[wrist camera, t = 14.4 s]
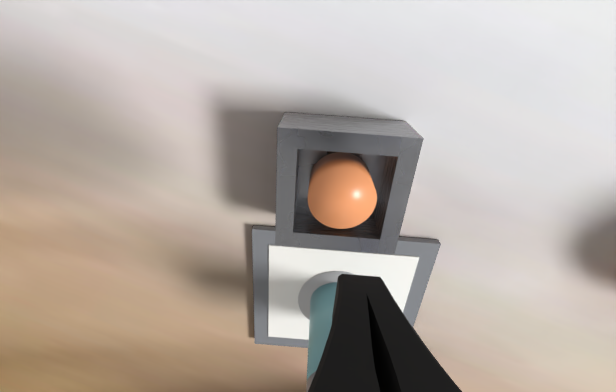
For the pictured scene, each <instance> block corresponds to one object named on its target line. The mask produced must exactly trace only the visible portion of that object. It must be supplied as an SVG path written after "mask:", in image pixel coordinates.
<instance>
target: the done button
mask: <svg viewBox="0 0 616 392" xmlns="http://www.w3.org/2000/svg"><path fill="white" fill-rule="evenodd" d="M376 202H377V193H376V189H375V186H374V184H373V181H372V178H371V175H370V172H369V170H368V167H367V166H366V164H365V163H364V162H363V161H362V160H361V159H360V158H359V157H357V156H355V155H353V154H350V153H345V152H335V153H331V154H328V155H326V156H324V157H322V158H321V159H320V160H319V161H318V162H317V163H316V164H315V165H314V167H313V168H312V171H311V173H310V179H309V189H308V206H309V209H310V211H311V213H312V215H313V216H314V217H315V218H316V219H317V220H318V221H319V222H320V223H322V224H324V225H326V226H328V227H331V228H337V229H346V228H351V227H355V226H357V225H359V224H361V223H363V222H364V221H365V220H366V219H367V218H369V216H370V215H371V214H372V212H373V211H374V209H375V206H376Z"/></svg>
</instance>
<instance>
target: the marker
mask: <svg viewBox="0 0 616 392" xmlns="http://www.w3.org/2000/svg"><path fill="white" fill-rule="evenodd" d="M336 287H337V282H333V283H328V284H324V285H322V286H320V287H319V288H317V289H316V290H315V291H314V292H313V294H312V296H311V300H310V321H309V343H308V364H307V386H306V392H308V390H309V388H310V385H311V383H312V380H313V378H314V375H315V373H316V370H317V368H318V365H319V362H320V360H321V357H322V354H323V351H324V348H325V345H326V342H327V339H328V336H329V332H330V329H331V325H332V314H333V307H334V300H335V294H336Z"/></svg>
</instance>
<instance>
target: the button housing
mask: <svg viewBox="0 0 616 392" xmlns="http://www.w3.org/2000/svg"><path fill="white" fill-rule="evenodd" d="M422 142H423V138H422V137H421V136H420V135H419V134H418V133H417V132H416V131H415V130H414V129H413V128H412V127H411V126H410V125H409V124H408V123H407V122H406V121H396V120H383V119H370V118H356V117H343V116H330V115H317V114H304V113H291V112H285V113H284V115H283V117H282V119H281V121H280V123H279V125H278V127H277V178H276V231H275V245H278V246H291V247H304V248H316V249H329V250H341V251H354V252H367V253H379V254H392V255H394V254H395V250H396V246H397V242H398V238H399V234H400V230H401V226H402V222H403V218H404V214H405V210H406V206H407V202H408V198H409V194H410V190H411V186H412V182H413V178H414V174H415V170H416V166H417V162H418V158H419V154H420V150H421V146H422ZM335 152H345V153H350V154H353V155H355V156H357V157H359V158H360V159H361V160H362V161H363V162H364V163H365V164H366V166H367V167H368V170H369V172H370V175H371V178H372V181H373V184H374V186H375V189H376V193H377V202H376V206H375V209H374V211H373V212H372V214H371V215H370V216H369V218H367V219H366V220H365V221H364V222H363V223H361V224H359V225H357V226H355V227H351V228H346V229H337V228H331V227H328V226H326V225H324V224H322V223H320V222H319V221H318V220H317V219H316V218H315V217H314V216H313V215H312V213H311V211H310V209H309V206H308V189H309V179H310V173H311V171H312V168H313V167H314V165H315V164H316V163H317V162H318V161H319V160H320V159H321V158H322V157H324V156H326V155H328V154H331V153H335Z"/></svg>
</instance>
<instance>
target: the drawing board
mask: <svg viewBox="0 0 616 392" xmlns="http://www.w3.org/2000/svg"><path fill="white" fill-rule="evenodd" d="M275 231H276V227H270V226H258V225H253V228H252V252H253V292H254V332H255V344H267V345H279V346H291V347H303V348H308V343H309V321H310V300H311V296H312V294H313V292H314V291H315V290H316V289H317V288H319V287H320V286H322V285H324V284H328V283H333V282H337V280H338V276H339V275H341V274H351V275H364V276H377V277H381V279H382V280H383V281H384V283H385V285H386V286H387V288H388V290H389V291H390V293H391V295H392V296H393V298H394V300H395V301H396V303H397V304H398V306H399V307H400V309H401V311H402V312H403V314H404V315H405V317H406V318H407V320H408V321H409V323H410V324H411V326H412V327H413V326H414V323H415V320H416V317H417V314H418V311H419V308H420V305H421V302H422V299H423V296H424V293H425V290H426V287H427V284H428V281H429V278H430V275H431V272H432V269H433V266H434V263H435V260H436V257H437V254H438V251H439V248H440V245H441V244H440V242H439V240H435V239H423V238H410V237H399V238H398V242H397V246H396V250H395V254H394V255H392V254H379V253H367V252H354V251H341V250H329V249H316V248H304V247H291V246H278V245H275Z"/></svg>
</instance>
